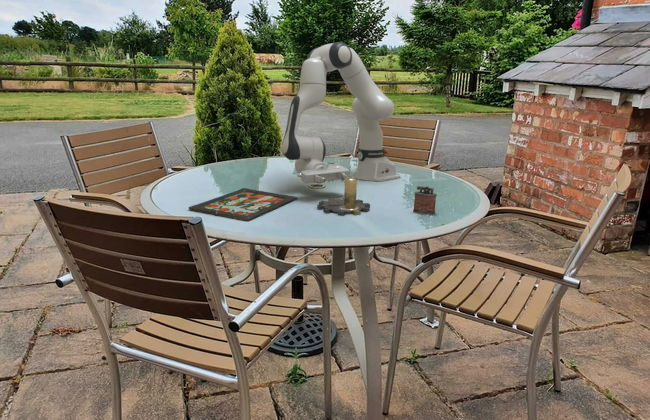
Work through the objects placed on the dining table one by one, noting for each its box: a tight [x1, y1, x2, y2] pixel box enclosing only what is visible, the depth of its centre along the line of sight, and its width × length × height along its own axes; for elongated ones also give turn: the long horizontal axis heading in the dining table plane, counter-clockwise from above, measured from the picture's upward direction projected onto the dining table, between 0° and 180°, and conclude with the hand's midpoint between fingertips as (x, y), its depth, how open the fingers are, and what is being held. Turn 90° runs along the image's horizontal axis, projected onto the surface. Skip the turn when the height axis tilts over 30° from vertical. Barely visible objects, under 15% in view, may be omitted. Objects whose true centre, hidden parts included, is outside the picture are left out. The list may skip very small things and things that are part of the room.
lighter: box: [412, 185, 437, 215], centre depth 178 cm, size 8×3×10 cm, turn 71°
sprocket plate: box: [316, 197, 371, 217], centre depth 184 cm, size 20×20×1 cm
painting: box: [187, 187, 298, 222], centre depth 186 cm, size 28×35×2 cm
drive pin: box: [343, 176, 358, 209], centre depth 178 cm, size 4×4×11 cm
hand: (334, 179), depth 189 cm, fingers open, 8 cm apart
